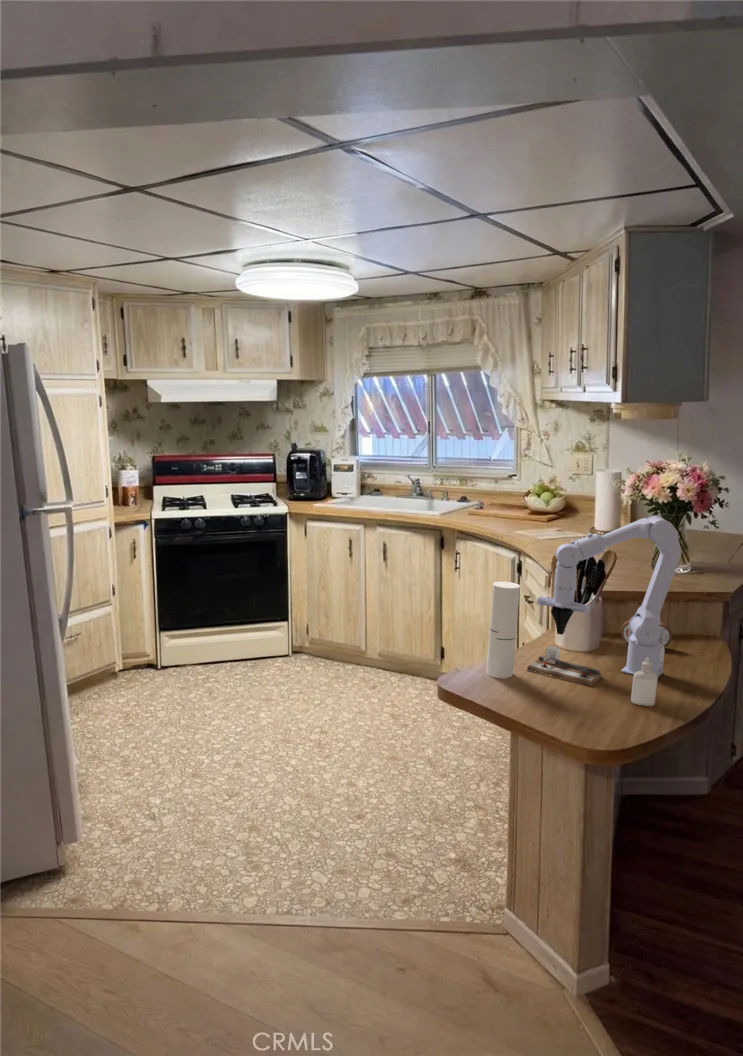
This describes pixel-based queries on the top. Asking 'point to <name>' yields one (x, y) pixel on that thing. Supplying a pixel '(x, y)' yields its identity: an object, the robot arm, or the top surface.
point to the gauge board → (567, 671)
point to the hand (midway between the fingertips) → (560, 633)
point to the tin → (664, 633)
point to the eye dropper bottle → (644, 685)
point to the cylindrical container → (502, 629)
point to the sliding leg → (551, 655)
